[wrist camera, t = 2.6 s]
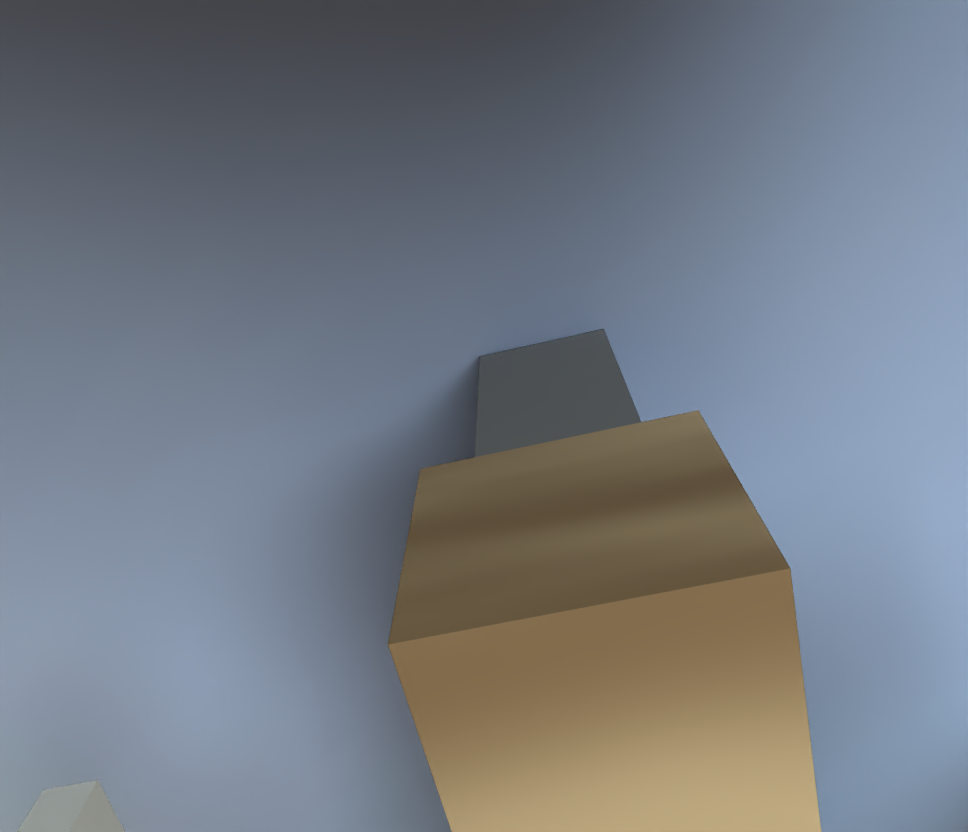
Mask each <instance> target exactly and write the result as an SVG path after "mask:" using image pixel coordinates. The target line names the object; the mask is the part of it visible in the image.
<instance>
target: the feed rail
mask: <svg viewBox="0 0 968 832" xmlns="http://www.w3.org/2000/svg"><path fill="white" fill-rule="evenodd" d="M640 422H641V420H640V418H639V415H638V413H637V410H636V408H635V406H634V403H633V401H632V398H631V396H630V393H629V391H628V388H627V386H626V383H625V381H624V378H623V376H622V373H621V371H620V368H619V366H618V363H617V361H616V358H615V356H614V354H613V351H612V349H611V346H610V344H609V341H608V339H607V336H606V334H605V331H604V329H601V330H597V331H592V332H588V333H583V334H579V335H574V336H570V337H565V338H561V339H556V340H552V341H547V342H543V343H538V344H534V345H529V346H525V347H520V348H516V349H511V350H507V351H502V352H498V353H493V354H489V355H484V356H480V362H479V381H478V400H477V419H476V438H475V456H474V457H478V456H483V455H488V454H493V453H497V452H502V451H507V450H512V449H516V448H521V447H526V446H531V445H535V444H540V443H545V442H550V441H555V440H559V439H564V438H569V437H574V436H578V435H583V434H588V433H593V432H597V431H602V430H607V429H612V428H616V427H621V426H626V425H631V424H635V423H640Z"/></svg>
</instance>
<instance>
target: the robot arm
mask: <svg viewBox="0 0 968 832" xmlns="http://www.w3.org/2000/svg"><path fill="white" fill-rule="evenodd" d="M17 832H125V831H124V829H123V827H122V825H121V823H120V821H119V819H118V817H117V815H116V814H115V812H114V810H113V808H112V806H111V804H110V802H109V800H108V798H107V796H106V794H105V792H104V791H103V789H102V787H101V785H100V783H99V781H98V780H94V781H89V782H83V783H78V784H72V785H67V786H61V787H56V788H50V789H45V790H43V791H42V793H41V794H40V796H39V797H38V799H37V800H36V802H35V804H34V805H33V807H32V808H31V810H30V812H29V813H28V815H27V816H26V818H25V819H24V821H23V823H22V824H21V826H20V827H19V829H18V830H17Z"/></svg>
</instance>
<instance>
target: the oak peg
mask: <svg viewBox="0 0 968 832" xmlns="http://www.w3.org/2000/svg"><path fill="white" fill-rule="evenodd" d="M388 646H389V649H390V652H391V655H392V658H393V661H394V664H395V667H396V670H397V673H398V676H399V679H400V682H401V685H402V687H403V690H404V693H405V696H406V699H407V702H408V705H409V708H410V711H411V714H412V717H413V720H414V723H415V726H416V729H417V731H418V734H419V737H420V740H421V743H422V746H423V749H424V752H425V755H426V758H427V761H428V764H429V767H430V770H431V772H432V775H433V778H434V781H435V784H436V787H437V790H438V793H439V796H440V799H441V802H442V805H443V808H444V811H445V814H446V816H447V819H448V822H449V825H450V828H451V831H452V832H821V826H820V817H819V809H818V800H817V792H816V783H815V775H814V766H813V757H812V749H811V740H810V732H809V723H808V715H807V706H806V698H805V689H804V681H803V672H802V664H801V655H800V647H799V638H798V630H797V621H796V613H795V604H794V596H793V587H792V579H791V570H790V567H789V565H788V564H787V562H786V560H785V558H784V557H783V555H782V553H781V552H780V550H779V548H778V546H777V545H776V543H775V541H774V540H773V538H772V536H771V534H770V533H769V531H768V529H767V528H766V526H765V524H764V522H763V521H762V519H761V517H760V515H759V514H758V512H757V510H756V509H755V507H754V505H753V503H752V502H751V500H750V498H749V497H748V495H747V493H746V491H745V490H744V488H743V486H742V484H741V483H740V481H739V479H738V478H737V476H736V474H735V472H734V471H733V469H732V467H731V466H730V464H729V462H728V460H727V459H726V457H725V455H724V454H723V452H722V450H721V448H720V447H719V445H718V443H717V441H716V440H715V438H714V436H713V435H712V433H711V431H710V429H709V428H708V426H707V424H706V423H705V421H704V419H703V417H702V416H701V414H700V412H699V411H698V410H697V411H693V412H688V413H683V414H678V415H674V416H669V417H664V418H659V419H655V420H650V421H645V422H640V423H635V424H631V425H626V426H621V427H616V428H612V429H607V430H602V431H597V432H593V433H588V434H583V435H578V436H574V437H569V438H564V439H559V440H555V441H550V442H545V443H540V444H535V445H531V446H526V447H521V448H516V449H512V450H507V451H502V452H497V453H493V454H488V455H483V456H478V457H473V458H469V459H464V460H459V461H454V462H450V463H445V464H440V465H435V466H431V467H426V468H421V469H420V473H419V478H418V484H417V489H416V495H415V500H414V506H413V511H412V516H411V522H410V527H409V533H408V538H407V544H406V549H405V554H404V560H403V565H402V571H401V576H400V582H399V587H398V592H397V598H396V603H395V609H394V614H393V620H392V625H391V630H390V636H389V641H388Z"/></svg>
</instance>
